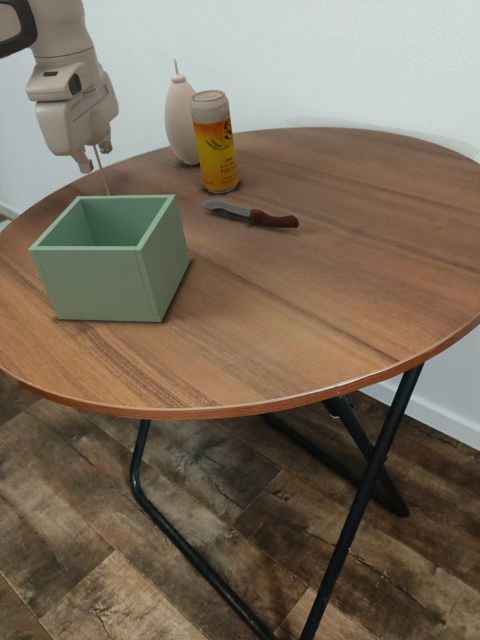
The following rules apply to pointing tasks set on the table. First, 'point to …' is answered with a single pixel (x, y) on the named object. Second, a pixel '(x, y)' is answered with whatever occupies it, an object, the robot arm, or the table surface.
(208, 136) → the beer can
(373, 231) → the table surface
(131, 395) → the table surface
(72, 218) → the tub
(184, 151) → the sauce bottle
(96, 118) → the lollipop
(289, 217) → the knife
